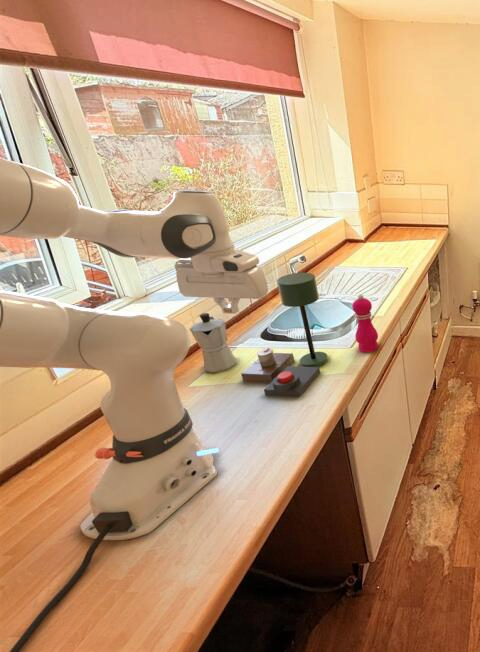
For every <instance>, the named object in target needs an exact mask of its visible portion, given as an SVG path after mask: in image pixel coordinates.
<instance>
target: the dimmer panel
mask: <svg viewBox="0 0 480 652" xmlns="http://www.w3.org/2000/svg"><path fill="white" fill-rule="evenodd" d="M273 354H274V358H275V363H274V364H272V365H270V366H261V365H260V361H259V358H257V359H256V360H255V361H253V363H251V364H250V365H249V366H248V367H247V368H246V369H245V370H243V371H242V372H241V373H240V375H241V378H242V382H243V383H258V384H259V383H261V384H270V383H271V382H272V381H273V379H274V378H276V377H277V376H278V375H279V374H280V373H281V372H282V371H283V370H284V369H285V368H286V367H287V366H293V364H294V363H295V357H294V353H289V352H288V353H286V352H285V353H284V352H273Z"/></svg>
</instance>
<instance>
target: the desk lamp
mask: <svg viewBox="0 0 480 652" xmlns="http://www.w3.org/2000/svg"><path fill="white" fill-rule="evenodd" d="M316 280H317V279H316V275H315V274H314V273H310V272H295V273H289V274H285V275H283V276H280V277H279V278H277V279H276V284H277V288H278V292H279V296H280V300H281V304H282V305H283V306H285V307H288V308H297V307H299V310H300V315H301V320H302V324H303V328H304V333H305V339H306V342H307V347H308V350H309V353H306V354H304V355H303V356H301V357H300V358H299V365H300V367H319V368H320V367H323V366H324V365H325V364H327V363H328V360H329V358H328V354H327V353H326V352H324V351H315V346H314V342H313V337H312V333H311V328H310V323H309V319H308V314H307V309H306V306H308V305H311V304H314V303H316V302H317V301H319V298H320V296H319V291H318V285H317V281H316Z"/></svg>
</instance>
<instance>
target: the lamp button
mask: <svg viewBox="0 0 480 652" xmlns="http://www.w3.org/2000/svg"><path fill="white" fill-rule="evenodd" d="M292 379H293V376H292V373H291V372H290V371H285V372H282V373H280V374H279V375H278V380H279V383H286V382H289V381H291V380H292Z"/></svg>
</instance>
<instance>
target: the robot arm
mask: <svg viewBox="0 0 480 652" xmlns="http://www.w3.org/2000/svg"><path fill="white" fill-rule="evenodd" d="M229 226H230V225H229V222H228V219H227V215H226V213H225V209H224V207H223V205H222V203H221V201H220V199H219V198H218V196H217V195H216V194H215V193H213V192H211V191H207V190H191V189H190V190H187V189H186V190H184V189H181V190H176V191H174V192H173V198H172V199H171V201H170V202H169V203H168V204H167V205H166V206H164V207H163V208H162V209H160V210H159V211H152V210H151V211H150V210H135V209H126V208H118V209H111V210H105V211H103V210H99V209H95V208H92V207H88V206H84V205H81V204H80V201H79V198H78V195H77V194H76V191H75V190H74V189H73V187H72V186H71V185H70V184H69V183H68V182H67V181H65V180H64V179H61V178H60V177H57V176H56V175H53V174H51V173H48V172H46V171H44V170H42V169H39V168H36V167H33V166H30V165H27V164H24V163H21V162H17V161H14V160H11V159H7V158H3V157H0V237H7V238H19V239H28V240H29V239H30V240H31V239H33V240H56V239H59V238H62V237H65V238H68V239H69V238H70V239H75V240H80V241H85V242H90V243H93V244H95V245H98V246H99V247H101V248H103V249H105V250H107V251H108V252H110V253H111V254H114V255H116V256H119V257H121V258H127V259H128V258H129V259H131V258H153V259H174V260H177V261H175V263H174V269H175V275H176V282H177V286H178V287H177V288H178V291H179V293H180V294H181V295H182V296H184V297H187V298H213V301H214V303H215V304H216V305H218V306H219V308H221V311H222V314H237V313H239V312H240V309H239V303H240V300H241V299H244V300H245V299H249V300H260V299H262V298H263V297H265V296H266V295H267V294H268V292H269V285H268V282H267V278H266V275H265V273H264V270H263V269H262V268H261V267H260V266H259V264H260V259H259V256H258V255H255V254H252V253H250V252H246V251H243V250H241V249H238V248H235V244H234V242H233V240H232V239H231V236H230V231H229V230H230V227H229ZM226 299H227V300H228V302H227V301H226ZM229 302H230V304H229ZM190 346H191V337H190V333H189V331H188V329H187V327H186V326H185V325H184V324H183V323H181V322H180V321H177V320H176V319H171V318H169V317H166V316H163V315H159V314H155V313H146V312H132V311H119V310H107V309H95V308H89V307H88V308H87V307H81V306H77V305H73V304H68V303H64V302H60V301H57V300H56V299H52V298H49V297H44V296H43V297H42V296H37V295H33V294H26V293H21V292H16V291H10V290H5V289H0V368H21V369H23V368H24V369H31V368H33V369H35V368H38V369H39V368H41V369H43V368H44V369H45V368H49V369H51V368H52V369H75V370H88V371H101V372H103V373H104V374H105V375H106V376H107V377H108V379H109V382H110V389H109V390H108V391H107V392H106V393H105V394H104V395H103V396H102V398H101V400H100V403H99V406H100V408H99V409H100V410H101V412H102V414H103V417H104V418H105V421H106V422H107V424H108V426H109V428H110V430H111V432H112V445H111V447H99V448H98V449H97V450H96V451H95V453H94V458H95V459H97V460H102V459H104V460H110V459H111V458H112V459H111V461H110V463H109V464H108V465H107V468H106V469H105V471H104V473H103V474H102V476H101V478H100V479H99V481H98V483H97V485H96V486H95V488H94V489H93V491H92V493H91V494H90V498H89V505H90V509H91V512H90V514H89V515H87V516H86V517H85V519H84V520H83V521H82V522H81V523H80V524H79V528H80V531H81V533H82V534H83V535H84V536H85V537H87V538H90V539H94V540H93V542H92V543H91V545H90V546H89V548H88V549H87V551H86V553H85V555H84V558H83V561H82V562H81V565H80V566H78V569H77V570H76V571H75V572H74V574H73V575H72V577H71V578H70V579H69V580H68V581H67V582H66V584H65V585H63V587H62V588H61V589H60V590H59V592H58V593H56V595H55V596H54V597H53V598H51V600H50V601H49V602H48V603H47V604H46V605H45V606H44V608H43V609H42V610H41V611H40V613H39V614H38V615H37V617H35V618H34V619H33V621H32V623H30V625H29V626H28V627H27V629H25V631H24V633H23V634H22V635H21V637H20V638H19V639H18V640H17V642H16V643H15V644H14V645H13V646H12V648H11V649H10V650H9V652H20V651H21V650H22V648H23V647H24V646H25V644H26V643H27V642H28V641H29V639H30V638H31V637H32V635H33V634H34V632H36V630H37V628H38V627H40V625H41V624H42V622H43V621H44V620H45V619H46V617H47V616H48V615H49V614H50V612H51V611H52V610H53V609H54V608H55V606H56V605H57V604H58V603H59V602H60V601H61V600H62V598H63V597H64V596H66V594H67V593H68V592H69V591H70V590H71V589H72V588H73V587H74V585H75V584H76V583H77V582H78V580H79V579H80V578H81V577H82V576H83V574H84V572H85V571H86V569H87V568H88V566H89V565H90V563H91V561H92V559H93V556H94V554H95V552H96V551H97V548H98V547H99V545H100V544H101V543H102V542H103V541H123V540H130V539H135V538H139V537H142V536H144V535H147V534H150V533H151V532H153V531H154V530H155V529H156V528H158V527H159V526H160V525H161V524H162V523H164V521H165V520H167V519H168V518H169V517H170V516H171V515H172V514H174V513H175V512H176V511H178V509H180V508H181V507H182V506H183V505H184V504H186V503H187V502H188V501H189V500H190V499H191V498H192V497H193V496H195V495H196V494H197V493H198V492H199V491H200V490H202V488H204V487H205V486H206V485H207V484H209V483H210V482H211V481H212V480H213V479H214V478H215V477H216V476H217V475H218V470H217V468H216V467H215V465H214V463H215V459H214V458H215V457H214V455H213V454H217V453H219V452H220V451H219V448H218V447H216V448H209V449H207V448H206V447H205V445H204V444H203V443H202V442H201V440H200V439H199V437H198V436H197V434H196V432H195V431H194V428H193V425H194V424H193V421H192V418H191V415H190V414H189V412H188V409H187V408H186V407H184V406H183V403H182V401H181V398H180V395H179V392H178V390H177V387H176V383H175V371H176V367H177V366H178V365H180V364H181V363H182V362H183V360H184V359H185V358H186V357H187V354H188V353H189V350H190V348H191V347H190Z"/></svg>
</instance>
